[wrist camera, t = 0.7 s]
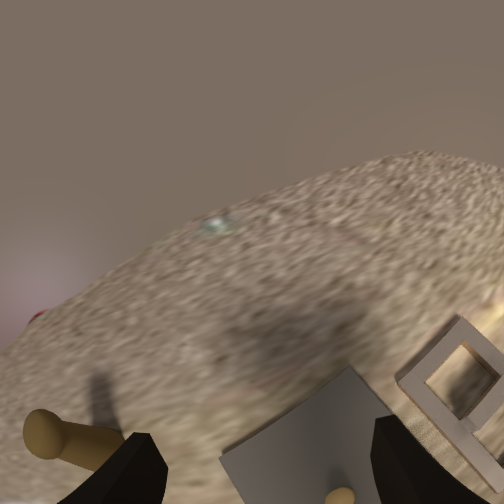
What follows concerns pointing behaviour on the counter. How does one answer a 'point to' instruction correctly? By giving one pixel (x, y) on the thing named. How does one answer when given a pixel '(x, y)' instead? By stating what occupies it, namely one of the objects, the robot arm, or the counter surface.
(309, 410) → the plate
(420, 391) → the double window frame
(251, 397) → the counter surface
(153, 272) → the counter surface
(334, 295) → the counter surface
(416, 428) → the counter surface
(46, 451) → the cork
